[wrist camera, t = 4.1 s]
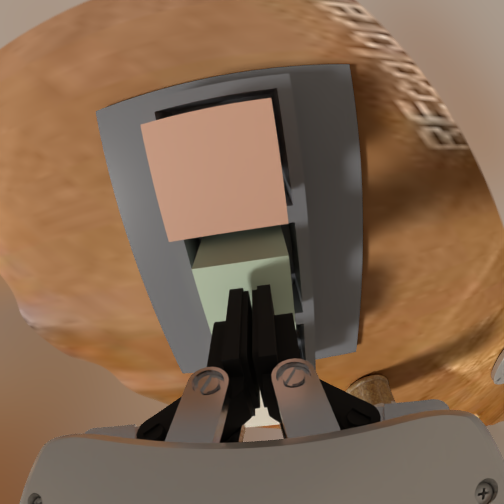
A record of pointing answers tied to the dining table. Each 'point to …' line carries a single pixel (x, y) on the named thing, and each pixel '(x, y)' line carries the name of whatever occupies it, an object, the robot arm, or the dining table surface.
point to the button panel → (296, 193)
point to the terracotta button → (217, 169)
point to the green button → (242, 269)
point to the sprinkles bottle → (372, 390)
